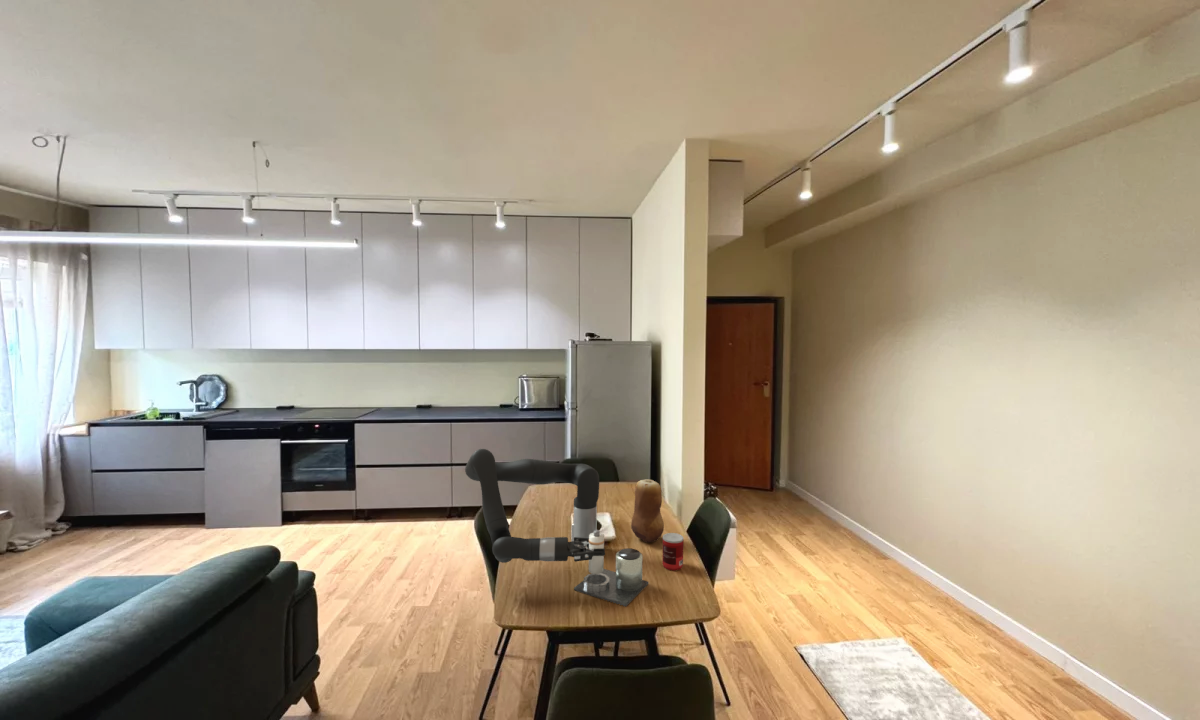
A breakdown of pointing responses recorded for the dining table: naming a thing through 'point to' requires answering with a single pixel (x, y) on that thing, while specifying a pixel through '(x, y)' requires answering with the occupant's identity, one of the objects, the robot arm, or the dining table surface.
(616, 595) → the grey tray with jar
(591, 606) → the dining table surface
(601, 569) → the bottle
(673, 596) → the dining table surface
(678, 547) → the canned food
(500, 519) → the robot arm
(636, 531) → the butternut squash
